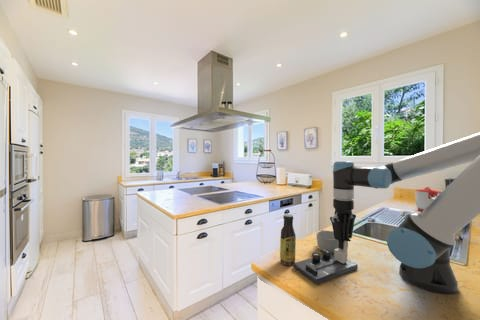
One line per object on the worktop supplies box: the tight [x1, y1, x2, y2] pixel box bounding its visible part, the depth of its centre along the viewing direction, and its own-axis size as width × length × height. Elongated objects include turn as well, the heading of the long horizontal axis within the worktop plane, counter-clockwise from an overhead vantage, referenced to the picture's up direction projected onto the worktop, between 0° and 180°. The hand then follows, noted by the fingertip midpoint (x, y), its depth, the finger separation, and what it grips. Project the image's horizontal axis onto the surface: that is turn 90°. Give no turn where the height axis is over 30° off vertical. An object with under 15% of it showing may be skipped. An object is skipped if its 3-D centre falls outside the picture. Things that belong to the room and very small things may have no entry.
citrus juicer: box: [414, 186, 442, 212], centre depth 164 cm, size 16×17×20 cm
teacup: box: [315, 229, 339, 253], centre depth 96 cm, size 14×11×8 cm
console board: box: [292, 250, 359, 286], centre depth 80 cm, size 12×22×4 cm, turn 116°
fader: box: [334, 248, 348, 263], centre depth 81 cm, size 4×2×4 cm, turn 26°
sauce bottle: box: [279, 214, 297, 266], centre depth 85 cm, size 6×6×20 cm
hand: (343, 256), depth 82 cm, fingers closed
